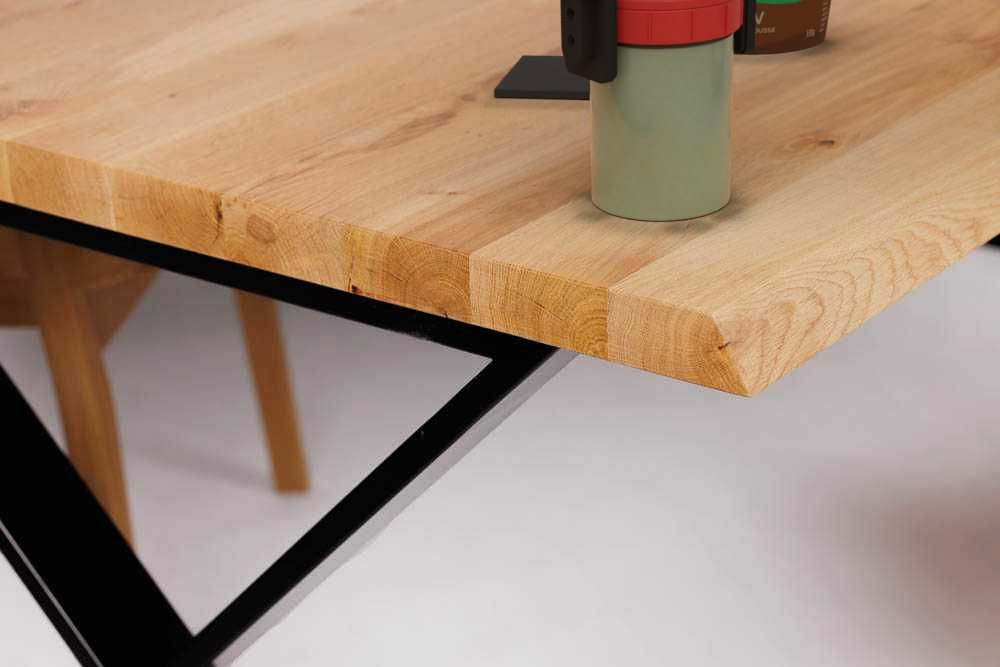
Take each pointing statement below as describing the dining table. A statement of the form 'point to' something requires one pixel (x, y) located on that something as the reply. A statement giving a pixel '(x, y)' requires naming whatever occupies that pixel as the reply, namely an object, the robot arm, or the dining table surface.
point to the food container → (789, 24)
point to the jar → (664, 131)
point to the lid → (676, 20)
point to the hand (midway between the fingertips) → (660, 59)
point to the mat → (542, 80)
